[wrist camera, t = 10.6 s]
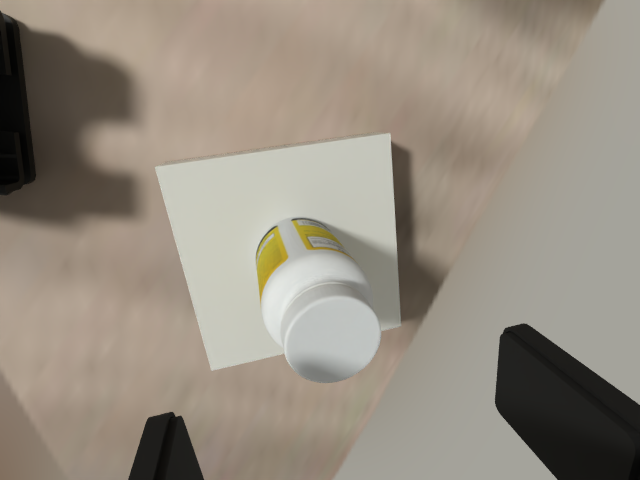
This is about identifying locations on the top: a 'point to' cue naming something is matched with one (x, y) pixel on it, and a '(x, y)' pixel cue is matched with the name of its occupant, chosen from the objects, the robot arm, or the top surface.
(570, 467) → the robot arm
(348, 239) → the base plate
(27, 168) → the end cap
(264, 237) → the supplement bottle
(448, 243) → the top surface
